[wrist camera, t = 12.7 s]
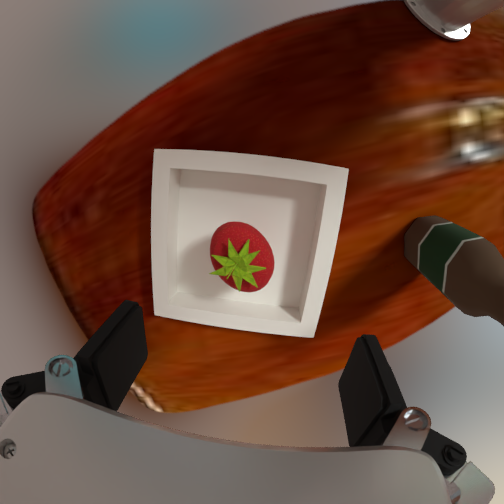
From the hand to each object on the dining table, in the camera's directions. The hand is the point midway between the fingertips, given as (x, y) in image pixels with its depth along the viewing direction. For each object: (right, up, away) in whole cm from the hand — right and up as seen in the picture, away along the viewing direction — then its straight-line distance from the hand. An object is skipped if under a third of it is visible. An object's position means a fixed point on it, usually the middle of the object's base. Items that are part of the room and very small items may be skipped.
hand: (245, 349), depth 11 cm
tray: (-1, +6, +22) cm, 23 cm away
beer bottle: (+23, +6, +21) cm, 32 cm away
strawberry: (0, +5, +21) cm, 22 cm away
